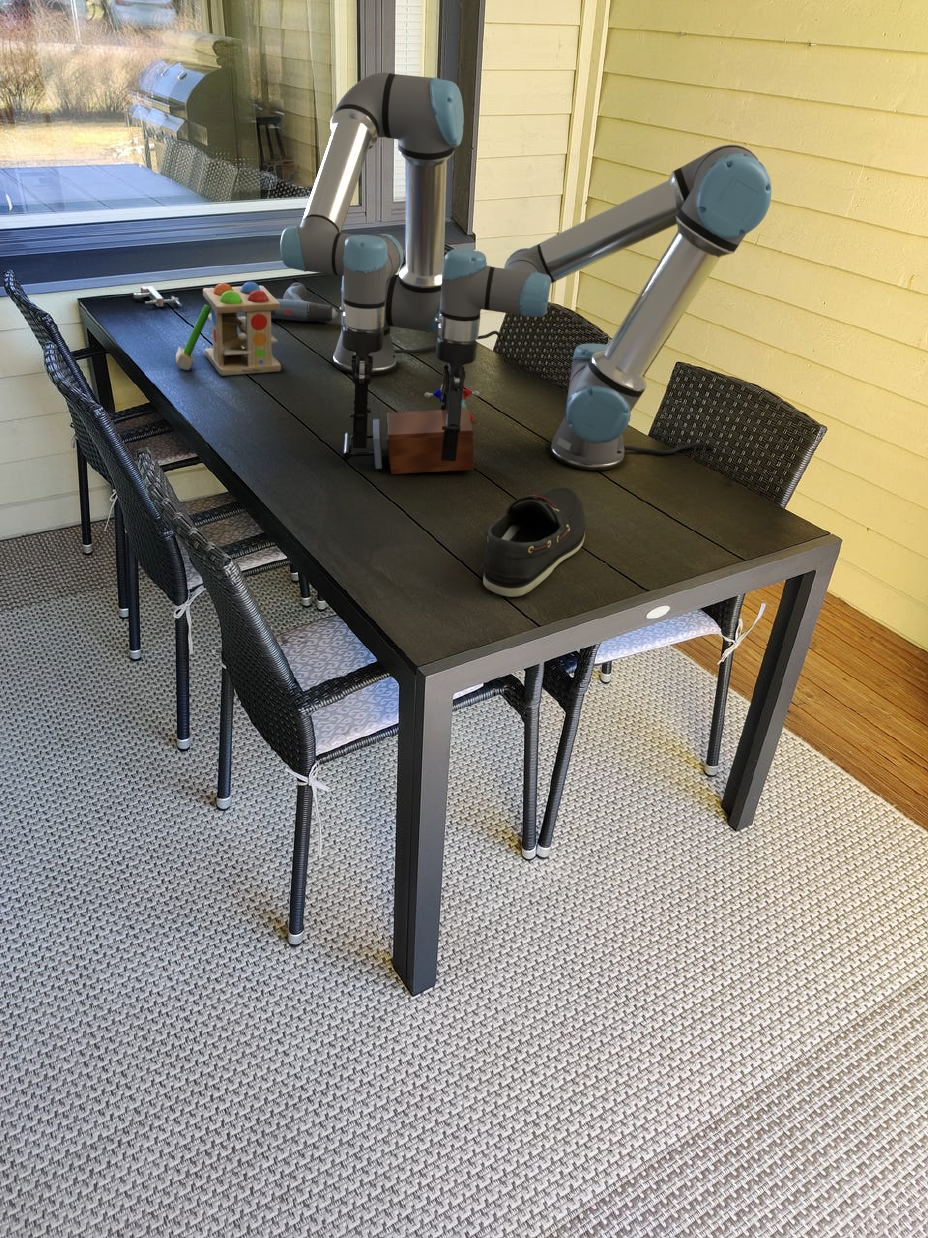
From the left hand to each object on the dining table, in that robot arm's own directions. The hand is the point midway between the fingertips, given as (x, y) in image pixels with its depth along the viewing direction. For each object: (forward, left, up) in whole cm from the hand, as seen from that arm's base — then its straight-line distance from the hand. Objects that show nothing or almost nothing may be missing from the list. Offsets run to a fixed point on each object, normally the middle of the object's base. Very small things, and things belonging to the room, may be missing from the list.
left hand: (359, 446), depth 192 cm
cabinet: (-11, +9, -2) cm, 14 cm away
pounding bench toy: (-5, -58, -3) cm, 58 cm away
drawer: (-6, +4, -2) cm, 8 cm away
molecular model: (-28, -5, -3) cm, 29 cm away
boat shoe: (-3, +45, -3) cm, 45 cm away
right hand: (-14, +10, 0) cm, 17 cm away
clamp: (-14, -107, -3) cm, 108 cm away
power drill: (-45, -81, -3) cm, 93 cm away
